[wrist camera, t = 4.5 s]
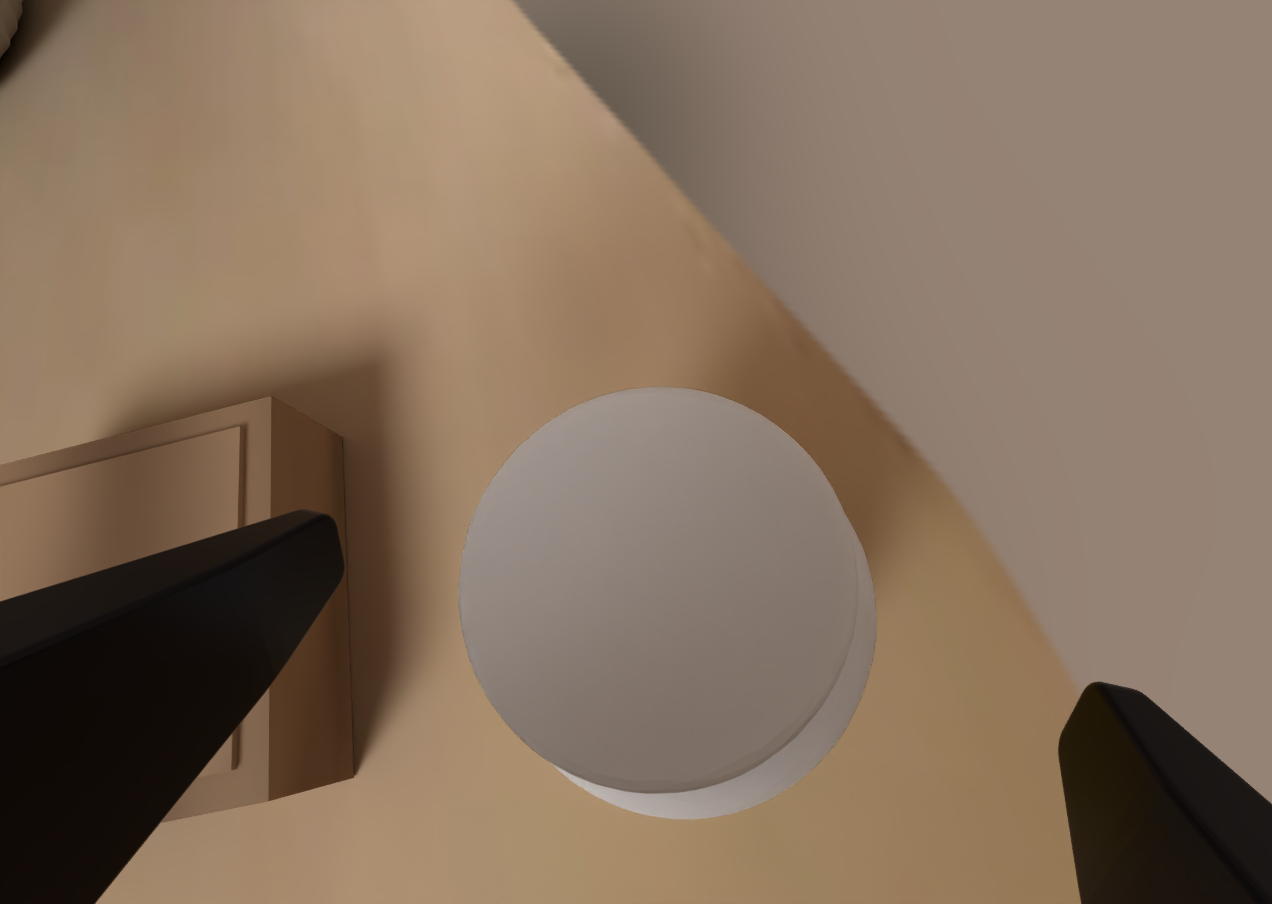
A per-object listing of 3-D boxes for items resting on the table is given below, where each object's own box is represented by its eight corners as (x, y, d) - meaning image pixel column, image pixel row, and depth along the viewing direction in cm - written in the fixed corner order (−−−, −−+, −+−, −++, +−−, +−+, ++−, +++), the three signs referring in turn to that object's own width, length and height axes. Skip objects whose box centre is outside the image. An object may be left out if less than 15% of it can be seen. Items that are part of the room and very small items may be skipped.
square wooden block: (21, 844, 16) (-138, 882, 13) (63, 506, 19) (-59, 476, 16) (353, 777, 16) (262, 803, 13) (342, 437, 19) (267, 393, 16)
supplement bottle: (864, 598, 15) (1053, 486, 6) (743, 810, 14) (744, 1071, 5) (671, 481, 17) (583, 252, 8) (549, 664, 16) (281, 655, 7)
